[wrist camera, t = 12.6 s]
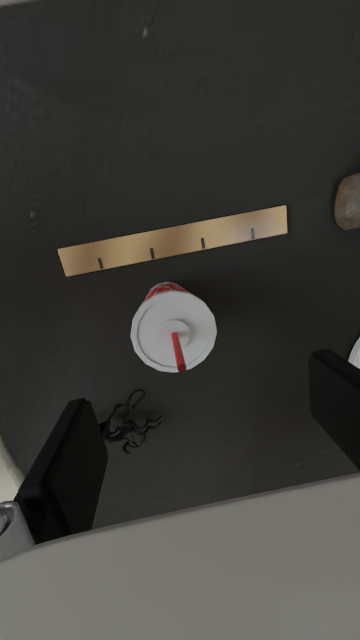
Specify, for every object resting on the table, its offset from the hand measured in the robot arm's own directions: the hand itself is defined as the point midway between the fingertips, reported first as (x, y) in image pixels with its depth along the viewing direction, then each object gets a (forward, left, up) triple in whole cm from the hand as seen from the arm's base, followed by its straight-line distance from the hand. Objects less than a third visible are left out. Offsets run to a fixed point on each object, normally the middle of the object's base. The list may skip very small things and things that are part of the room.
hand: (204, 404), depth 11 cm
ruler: (-1, -6, -17) cm, 18 cm away
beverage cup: (+1, 0, -17) cm, 17 cm away
